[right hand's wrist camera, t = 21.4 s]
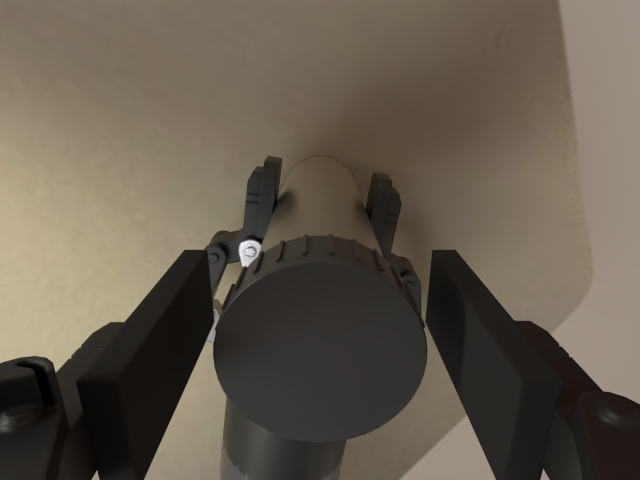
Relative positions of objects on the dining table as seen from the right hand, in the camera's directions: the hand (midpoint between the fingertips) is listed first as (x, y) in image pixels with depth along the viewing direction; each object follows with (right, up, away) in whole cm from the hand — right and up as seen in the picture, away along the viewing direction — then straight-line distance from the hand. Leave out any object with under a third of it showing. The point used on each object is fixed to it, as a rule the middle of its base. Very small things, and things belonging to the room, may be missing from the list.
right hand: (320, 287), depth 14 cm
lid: (0, -1, -3) cm, 4 cm away
